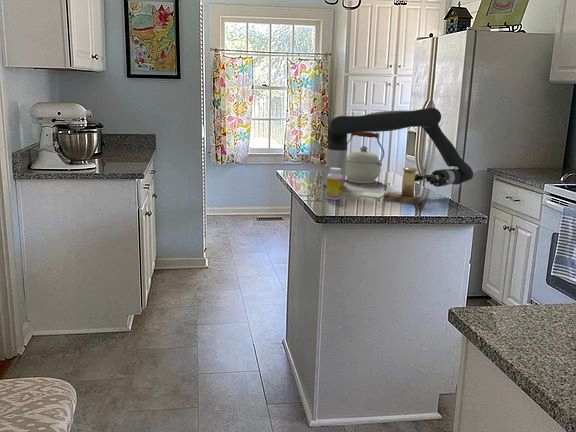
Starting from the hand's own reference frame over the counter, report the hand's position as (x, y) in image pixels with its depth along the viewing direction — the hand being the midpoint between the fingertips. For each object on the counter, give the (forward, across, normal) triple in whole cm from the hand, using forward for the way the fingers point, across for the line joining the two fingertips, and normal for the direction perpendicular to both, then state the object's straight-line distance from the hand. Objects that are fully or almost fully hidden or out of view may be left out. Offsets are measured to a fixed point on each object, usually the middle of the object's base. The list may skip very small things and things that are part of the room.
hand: (422, 180), depth 243 cm
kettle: (-12, -45, +9) cm, 48 cm away
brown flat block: (+11, -2, +8) cm, 14 cm away
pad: (+14, -16, +8) cm, 23 cm away
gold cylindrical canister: (+10, 0, +6) cm, 12 cm away
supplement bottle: (+34, -20, +9) cm, 41 cm away
